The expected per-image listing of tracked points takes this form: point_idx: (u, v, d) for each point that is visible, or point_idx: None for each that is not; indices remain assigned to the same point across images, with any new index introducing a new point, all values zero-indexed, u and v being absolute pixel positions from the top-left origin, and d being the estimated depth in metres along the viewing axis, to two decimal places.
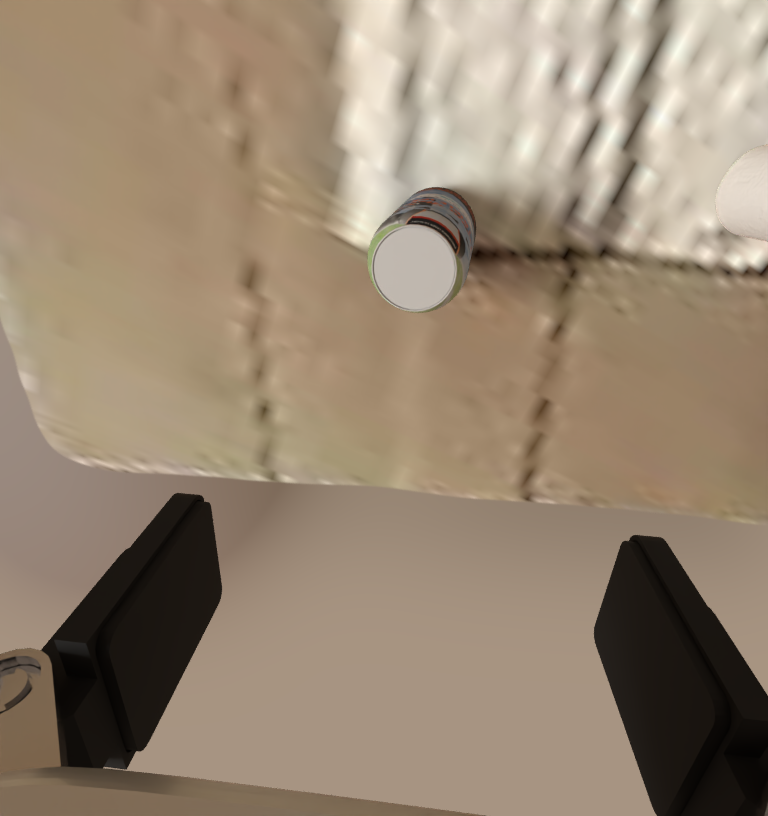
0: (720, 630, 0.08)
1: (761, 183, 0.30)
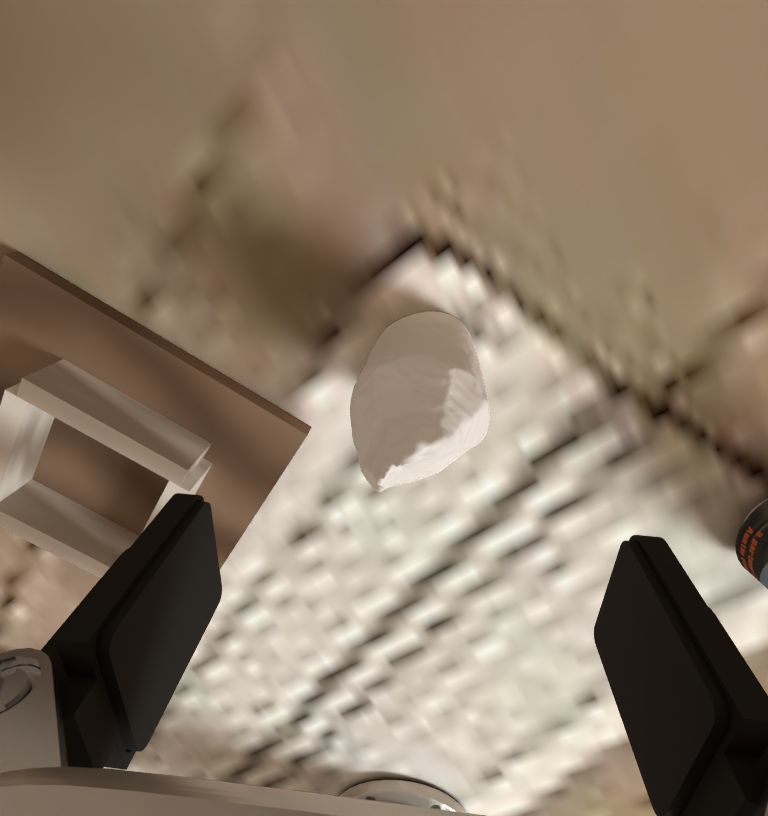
0: (720, 630, 0.08)
1: None
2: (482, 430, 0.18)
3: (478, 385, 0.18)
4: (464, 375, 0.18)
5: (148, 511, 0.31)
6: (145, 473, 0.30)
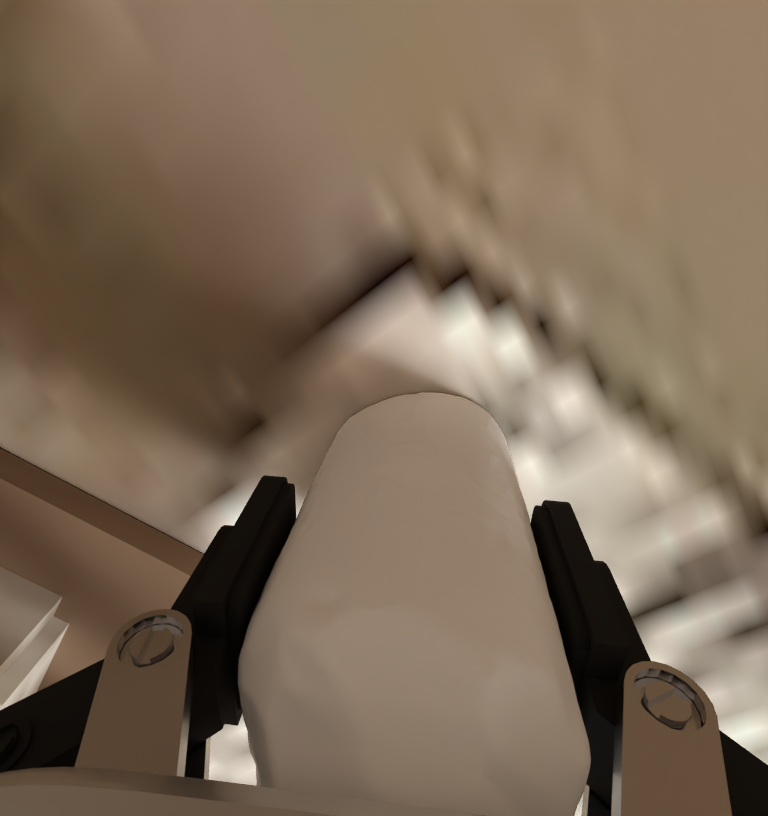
0: (597, 576, 0.09)
1: None
2: None
3: (563, 708, 0.06)
4: (523, 683, 0.06)
5: None
6: None
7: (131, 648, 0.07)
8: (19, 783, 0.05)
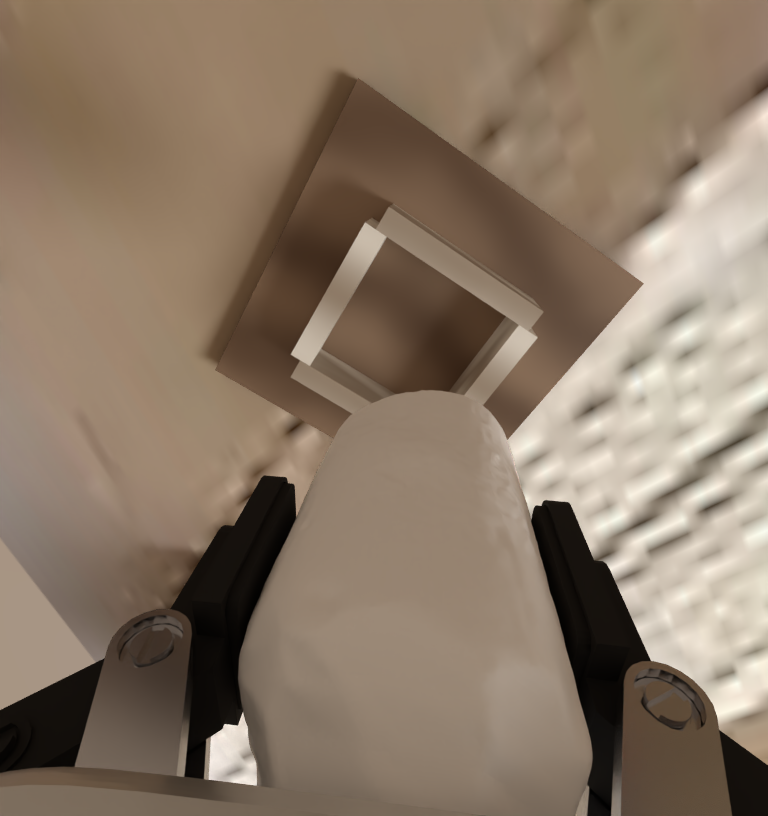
0: (597, 576, 0.09)
1: None
2: None
3: (565, 704, 0.06)
4: (525, 680, 0.06)
5: (440, 381, 0.30)
6: (449, 336, 0.28)
7: (131, 648, 0.07)
8: (19, 783, 0.05)
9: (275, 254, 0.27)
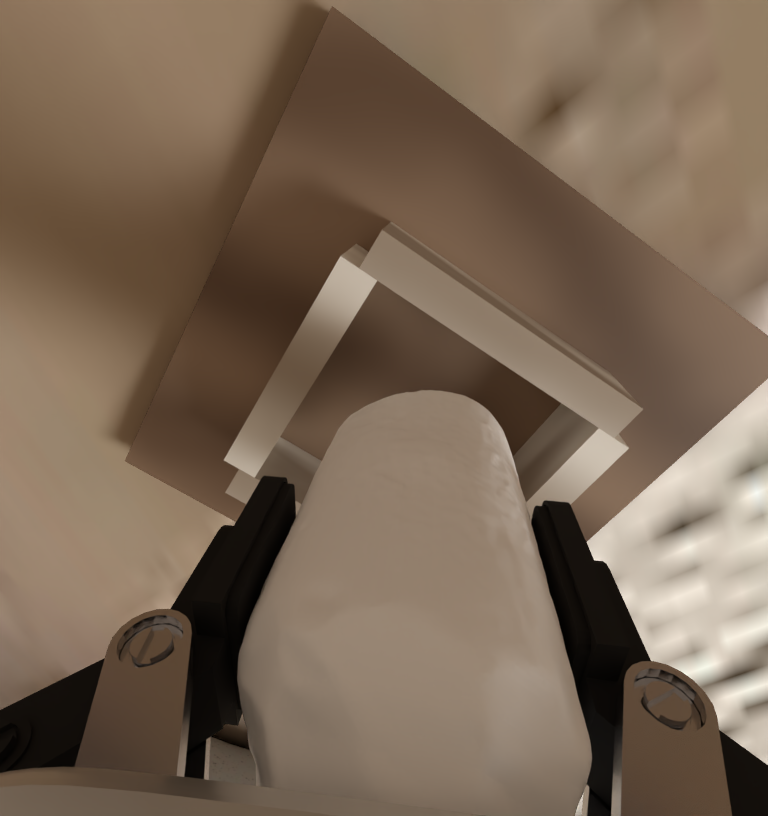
0: (597, 576, 0.09)
1: None
2: None
3: (564, 705, 0.06)
4: (525, 680, 0.06)
5: None
6: None
7: (131, 648, 0.07)
8: (19, 783, 0.05)
9: (205, 297, 0.17)
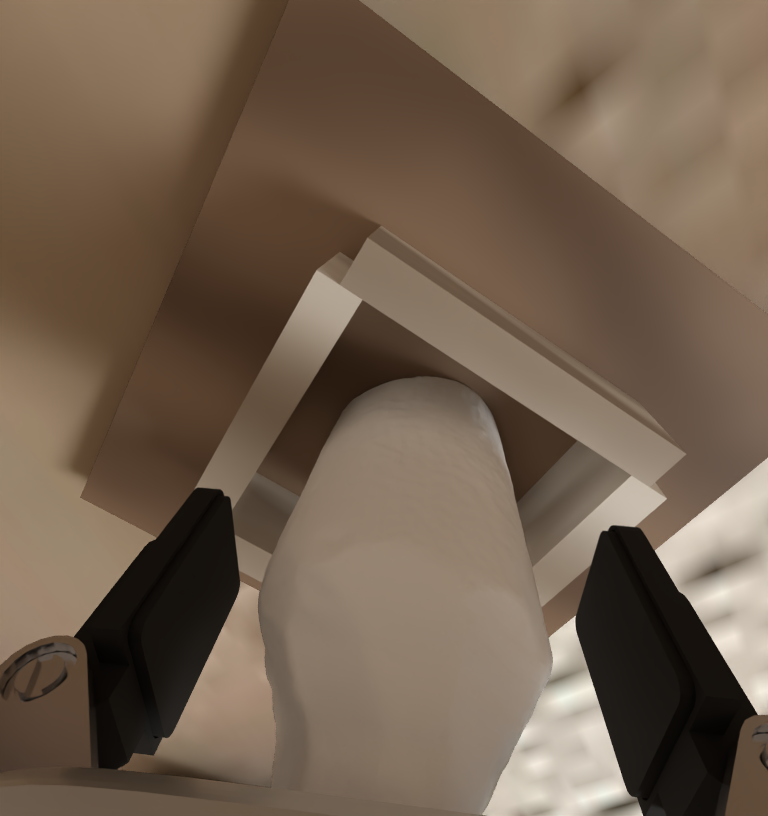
0: (689, 614, 0.08)
1: None
2: None
3: (530, 622, 0.08)
4: (497, 600, 0.08)
5: None
6: None
7: (16, 680, 0.07)
8: (19, 783, 0.05)
9: (163, 314, 0.15)
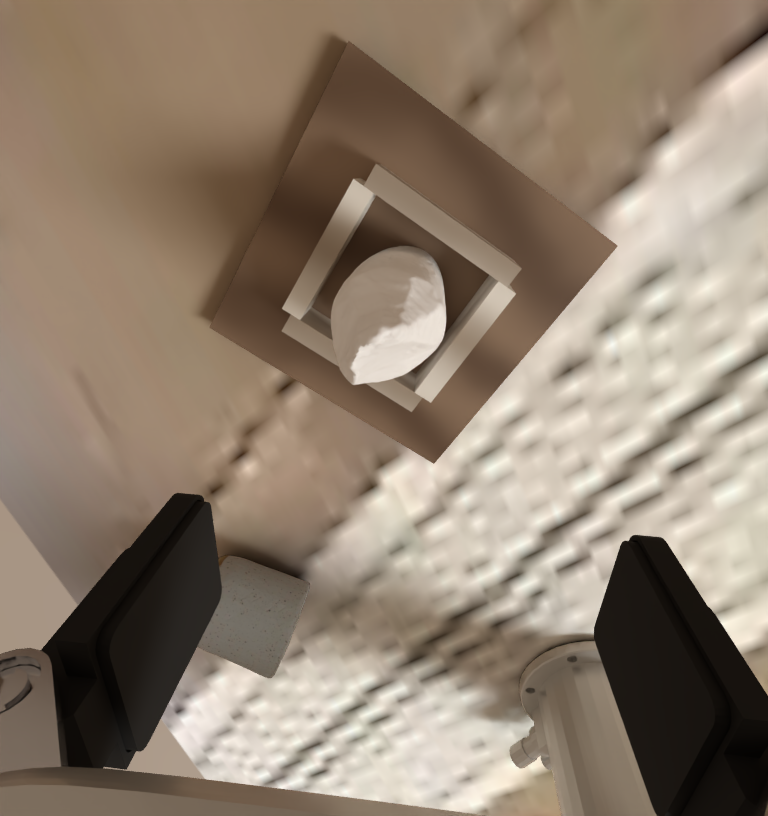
0: (720, 630, 0.08)
1: None
2: (439, 331, 0.22)
3: (435, 292, 0.21)
4: (423, 283, 0.21)
5: None
6: None
7: None
8: (19, 783, 0.05)
9: (268, 213, 0.28)
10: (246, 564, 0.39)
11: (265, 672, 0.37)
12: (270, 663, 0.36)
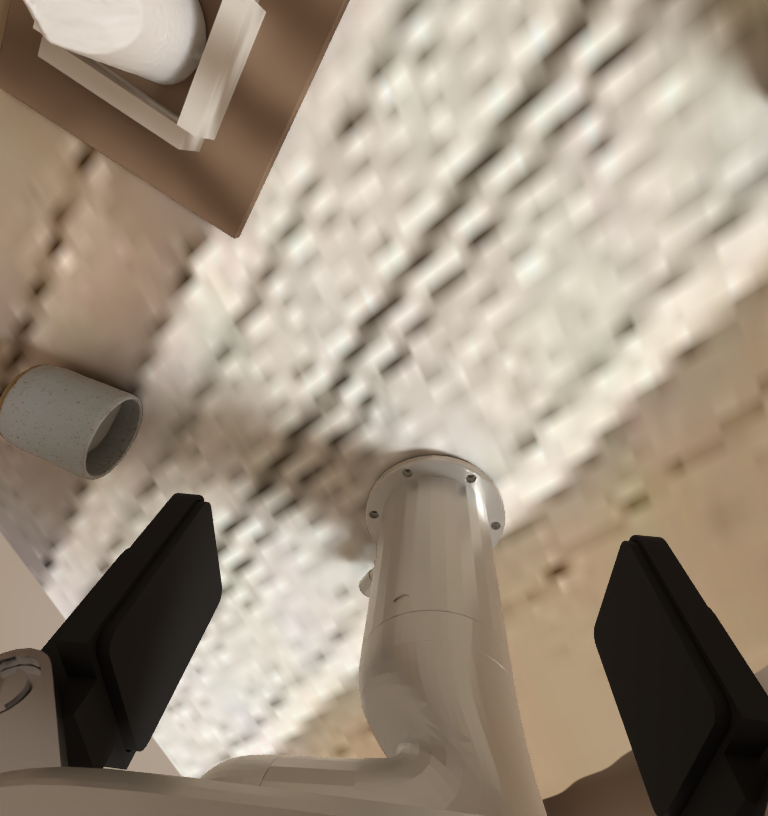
0: (720, 630, 0.08)
1: (161, 46, 0.27)
2: None
3: None
4: None
5: None
6: None
7: None
8: (19, 783, 0.05)
9: None
10: (68, 370, 0.40)
11: (74, 463, 0.37)
12: (76, 451, 0.36)
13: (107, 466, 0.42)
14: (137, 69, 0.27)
